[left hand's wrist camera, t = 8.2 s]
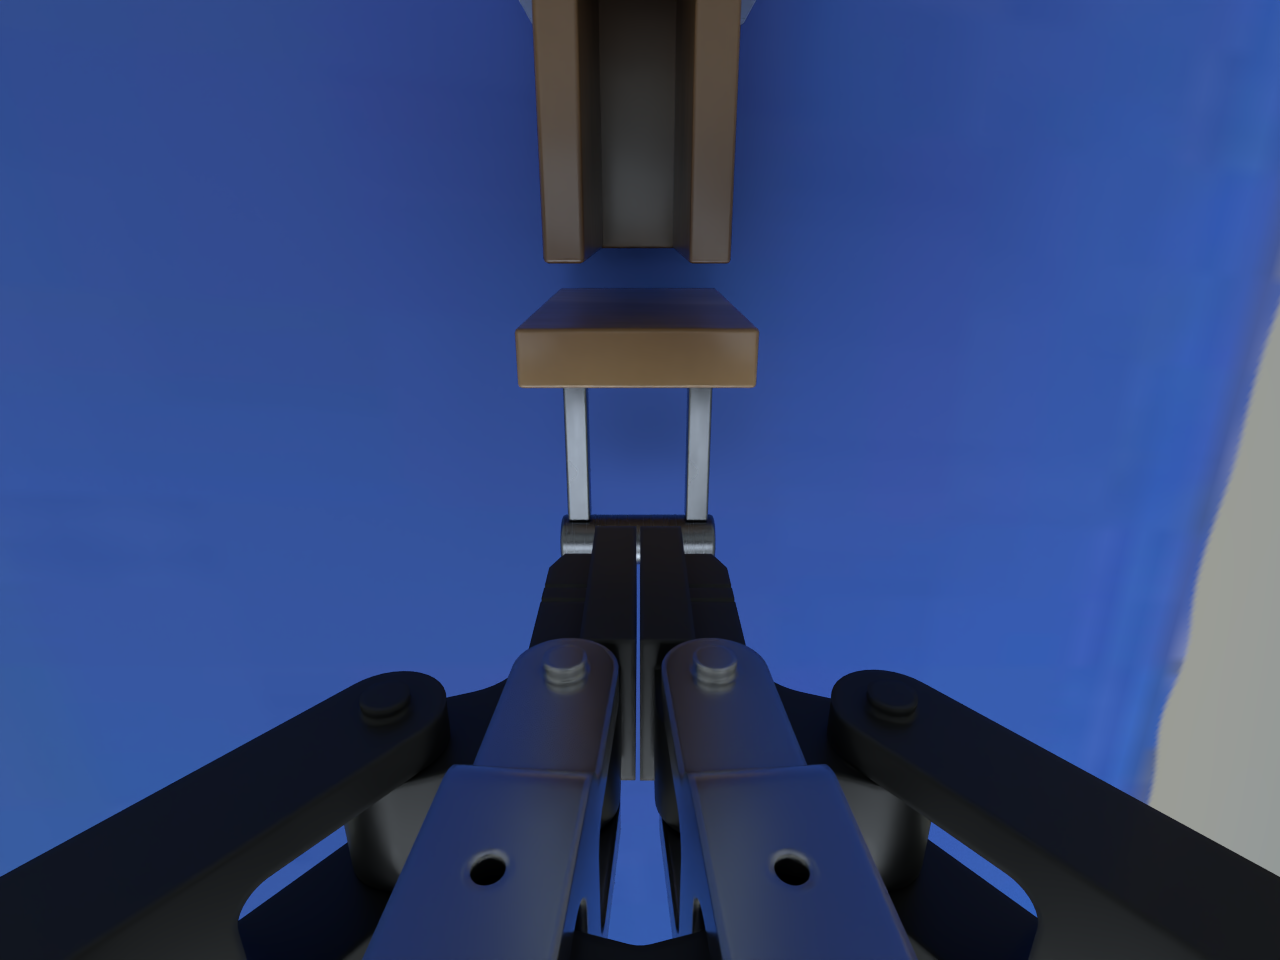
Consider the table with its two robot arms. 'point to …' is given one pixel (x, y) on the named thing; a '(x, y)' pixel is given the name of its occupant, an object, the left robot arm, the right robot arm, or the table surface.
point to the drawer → (637, 225)
